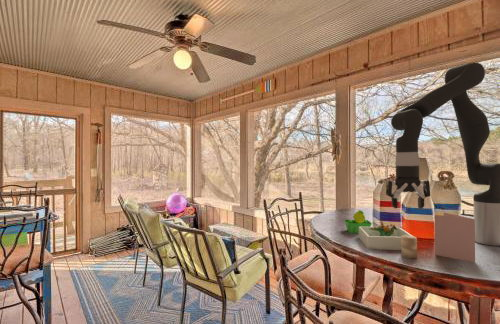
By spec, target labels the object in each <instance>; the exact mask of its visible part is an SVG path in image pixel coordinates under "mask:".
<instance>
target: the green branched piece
mask: <svg viewBox="0 0 500 324" xmlns="http://www.w3.org/2000/svg"><path fill="white" fill-rule="evenodd" d="M373 227H374V228H370V230H375V231H378V232H379V233H380V235H379V236H387V237H390V236H391V235H392V234H394V229H395V230H397V228H396V225H395V224H394V225H393V224H392V223H390V224H389V225H388V224H387V225H386V226H385V225H384V222H383V221H382V220H381V221H380V226H373ZM376 227H378V228H376ZM388 227H392V228H391V230H390V229H389V228H388Z"/></svg>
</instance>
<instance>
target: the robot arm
mask: <svg viewBox="0 0 500 324" xmlns="http://www.w3.org/2000/svg"><path fill="white" fill-rule="evenodd" d="M485 77H486V69H485V67H484V66H483V65H482V64H481V63H480V62H468V63H465V64H461V65H456V66H454V67H450V68H449V69H447V70H446V72H445V75H444V84H443V85H441V86H438V87H437V88H434V89H432V90H430V91H429V92H427V93H426V94H424V95H423V96H421V97H420V98H418V99H417V100H416V101H415V102H413V103H411V104H410V105H408V106H405V107H404V108H402V109H401V110H399V111H397V112H396V113H395V114H393V116H392V117H391V120H390V121H391V123H390V124H391V126H392V128H393V129H394V130H396V131H403V134H402V135H401V136H399V137H397V138H396V143H395V152H396V153H395V162H394V164H395V179H394V180H390V179H387V180H386V184H385V189H386V190H385V195H386V196H387V197H389V198H391V207H393V208H394V209H398V196H399V195H400V194H402V193H407V192H410V193H414V194H416V196H417V197H418V198H417V208H418V209H423V208H424V207H425V198H428V197H430V196H431V187H430V186H431V185H430V180H427V179H423V180H420V155H419V138H420V136H421V132H422V129H423V124H424V118H426V117H429V116H431V115H432V114H433V113H434V112H435V111H437V110H438V109H439V108H441V107H442V106H444V105H445V104H447V103H449V102H451V103H452V106H453V110H454V113H455V117H456V122H457V127H458V131H459V135H460V138H461V142H462V146H463V150H464V155H465V163H466V170H467V176H468V179H469V181H470V182H471V184H473V185H478V186H479V185H480V186H489V187H488V190H485V191H483V192H477V193H474V195H473V197H472V198H473V219H475V243H478V244H483V245H486V246H495V247H496V246H497V247H500V163H492V162H484V163H483V162H481V161H480V152H481V150H482V148H483V147H484V145H485V144H486V142H487V140H488V139H489V137H490V133H491V132H490V131H491V130H490V124H489V121H488V118H487V115H486V114H485V113H484V112H483V111H482V110H481V108H479V107H478V105H476V104H475V103H474V102H473V101H472V99H470V96H469V95H468V92H467V91H469V90H470V89H473V88H475V87H476V86H478V85H480V84H481V83H482V82H483V80H484V79H485ZM394 185H396V188H395V189H394V191H393V187H394ZM420 185H421V186H422V190H421V189H420V188H419V187H420ZM422 191H423V192H422Z"/></svg>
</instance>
